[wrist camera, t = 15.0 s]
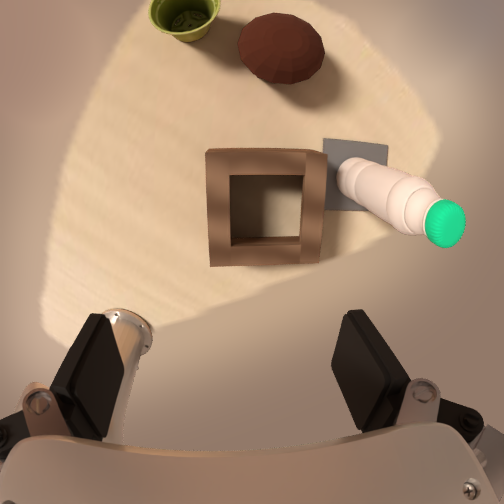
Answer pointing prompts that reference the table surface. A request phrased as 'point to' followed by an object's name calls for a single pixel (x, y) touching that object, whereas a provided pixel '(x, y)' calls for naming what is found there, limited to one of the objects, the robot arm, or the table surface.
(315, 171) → the slot box
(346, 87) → the table surface
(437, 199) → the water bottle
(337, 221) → the table surface
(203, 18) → the plant pot
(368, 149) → the mat
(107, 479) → the robot arm
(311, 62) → the muffin
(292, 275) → the table surface
